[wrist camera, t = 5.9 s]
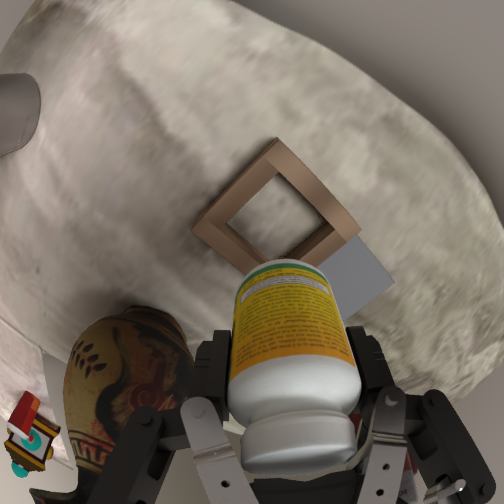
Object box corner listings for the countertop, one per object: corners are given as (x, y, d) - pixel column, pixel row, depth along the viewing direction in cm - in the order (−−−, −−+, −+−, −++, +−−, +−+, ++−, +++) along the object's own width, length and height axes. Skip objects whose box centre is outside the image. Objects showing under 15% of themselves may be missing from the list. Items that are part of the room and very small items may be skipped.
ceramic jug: (78, 301, 31) (-19, 493, 5) (168, 271, 28) (70, 576, 2) (145, 378, 39) (103, 544, 13) (231, 367, 36) (214, 579, 10)
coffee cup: (19, 389, 53) (3, 424, 40) (26, 387, 51) (7, 425, 38) (39, 405, 56) (24, 440, 43) (47, 405, 54) (31, 442, 41)
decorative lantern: (65, 428, 64) (43, 493, 38) (58, 433, 71) (39, 488, 45) (19, 396, 57) (-9, 460, 31) (18, 406, 65) (-4, 460, 39)
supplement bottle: (339, 311, 16) (381, 459, 8) (259, 338, 17) (260, 484, 9) (312, 239, 14) (372, 421, 5) (217, 276, 15) (188, 453, 6)
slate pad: (285, 285, 29) (285, 289, 28) (352, 230, 25) (354, 232, 25) (332, 324, 31) (333, 328, 31) (392, 279, 28) (394, 282, 28)
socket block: (195, 220, 25) (190, 230, 23) (277, 137, 21) (279, 140, 19) (274, 285, 29) (275, 298, 27) (354, 220, 25) (361, 229, 23)
